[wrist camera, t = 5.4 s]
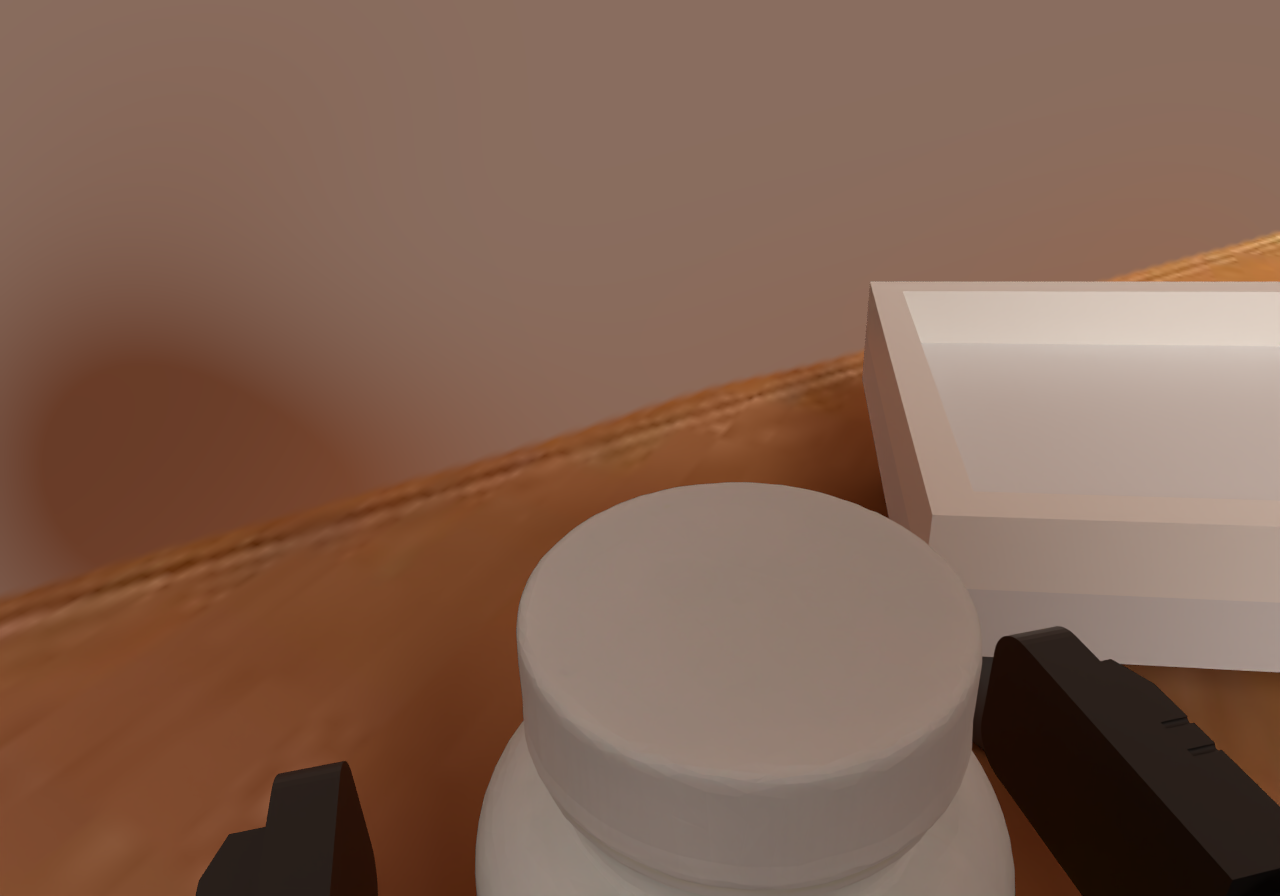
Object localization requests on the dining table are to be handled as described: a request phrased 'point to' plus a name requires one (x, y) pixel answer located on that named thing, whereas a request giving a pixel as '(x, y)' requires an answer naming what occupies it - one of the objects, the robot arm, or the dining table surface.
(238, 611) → the dining table surface
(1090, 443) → the white footed tray
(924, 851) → the supplement bottle
